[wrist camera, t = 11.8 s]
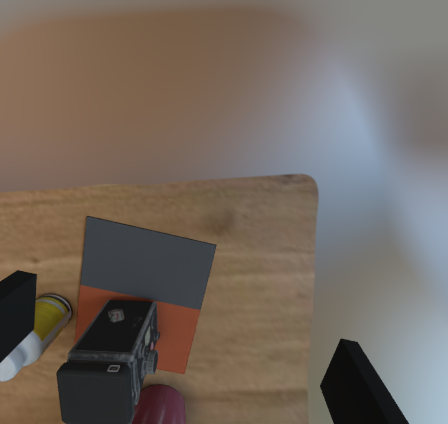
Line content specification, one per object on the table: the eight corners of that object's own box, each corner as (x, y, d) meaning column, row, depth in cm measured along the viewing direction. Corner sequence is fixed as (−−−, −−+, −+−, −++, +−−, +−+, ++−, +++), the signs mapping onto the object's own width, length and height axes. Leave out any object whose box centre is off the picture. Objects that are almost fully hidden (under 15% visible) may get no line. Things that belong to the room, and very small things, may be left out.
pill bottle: (39, 287, 44) (-25, 339, 32) (78, 301, 44) (27, 356, 33) (31, 317, 45) (-33, 377, 34) (68, 330, 46) (17, 393, 35)
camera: (108, 346, 46) (54, 441, 32) (103, 294, 43) (42, 372, 29) (167, 349, 46) (140, 445, 32) (166, 297, 43) (136, 377, 29)
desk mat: (216, 244, 41) (216, 245, 41) (184, 372, 48) (184, 374, 48) (88, 215, 40) (86, 216, 40) (74, 351, 47) (73, 352, 47)
